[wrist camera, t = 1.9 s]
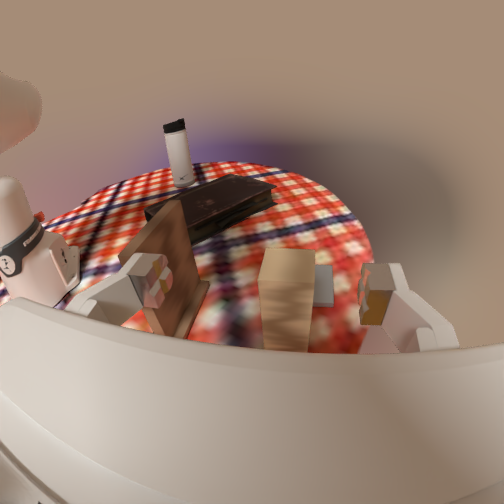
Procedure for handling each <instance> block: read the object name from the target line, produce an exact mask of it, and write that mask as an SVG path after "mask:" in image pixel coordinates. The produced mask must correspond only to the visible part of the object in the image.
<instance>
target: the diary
mask: <svg viewBox="0 0 504 504" xmlns="http://www.w3.org/2000/svg"><path fill="white" fill-rule="evenodd" d="M275 187H277V186H276V185H273V184H269V183H266V182H263V181H260V180H256V179H252V178H248V177H243V176H238V175H233V174H228V175H225V176H223V177H220V178H218V179H216V180H213V181H211V182H208V183H205V184H202V185H200V186H197V187H194V188H191V189H188V190H186V191H184V192H182V193H179V194H177V195H175V196H173V197H171V198H169V199H166V200H163V201H161V202H158V203H156V204H153V205H151V206H148V207H146V208H144V213H145V217H146V220H147V223H148V222H149V221H150V220H151V219H152V218H153V217H154V216H155V215H156V214H157V212H158V211H159V210H160V209H161V208H162V207H163V206H164V205H165V204H166V203H167V202H168V201H169V200H181V205H182V209H183V214H184V218H185V222H186V226H187V231H188V235H189V239H190V243H191V247H192V246H194V245H196V244H198V243H200V242H202V241H204V240H206V239H208V238H210V237H212V236H214V235H216V234H218V233H219V232H221V231H223V230H225V229H227V228H229V227H231V226H233V225H235V224H237V223H239V222H242V221H244V220H246V219H248V218H246V217H249V216H251V215H253V214H255V213H258V212H260V211H263V210H266V209H268V208H270V207H272V206H274V205H277V204H278V203H275V202H273V201H272V197H271V189H273V188H275ZM244 218H246V219H244ZM242 219H243V220H242Z"/></svg>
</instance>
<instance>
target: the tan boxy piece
mask: <svg viewBox="0 0 504 504" xmlns="http://www.w3.org/2000/svg"><path fill="white" fill-rule="evenodd" d="M314 283H315V250H310V249H286V248H266V250H265V254H264V258H263V261H262V265H261V269H260V273H259V276H258V290H259V300H260V310H261V320H262V330H263V341H264V350H276V351H289V352H304V353H307V352H308V344H309V336H310V326H311V317H312V307H313V295H314Z"/></svg>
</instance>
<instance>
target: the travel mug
mask: <svg viewBox="0 0 504 504" xmlns="http://www.w3.org/2000/svg"><path fill="white" fill-rule="evenodd" d="M163 129H164V135H165V140H166V146H167V151H168V156H169V161H170V166H171V171H172V176H173V181H174V186H175V187H178V188H182V187H187V186H190V185H192V184H193V183H194V182H195V180H194V175H193V169H192V163H191V158H190V152H189V146H188V140H187V134H186V129H185V122H184V119H179V120H177V121H175V122H172V123H169V124H166V125H163Z"/></svg>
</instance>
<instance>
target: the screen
mask: <svg viewBox="0 0 504 504" xmlns="http://www.w3.org/2000/svg"><path fill="white" fill-rule="evenodd" d="M134 253H151V254H163V255H165V256H166V257H167V260H168V264H167V267H168V268H169V269H170V270H171V272H172V276H173V282H172V287H171V288H170V290H169V291H168V292H167V293H165V294H164V296H165V299H164V301H163V302H162V304H161V306H160V308H150V307H143V308H142V311H143V313H144V315H145V317H146V319H147V321H148V323H149V325H150V326H151V328H152V330H153V333H154V334H159V335H165V336H170V337H175V338H181V339H186V338H187V336H188V333H189V331H190V329H191V326H192V324H193V322H194V320H195V317H196V315H197V313H198V310H199V308H200V306H201V304H202V302H203V299H204V297H205V295H206V293H207V290H208V288H209V286H210V284H209V281H201V280H200V278H199V274H198V270H197V266H196V263H195V259H194V255H193V251H192V247H191V243H190V239H189V235H188V231H187V226H186V222H185V218H184V214H183V209H182V205H181V200H169V201H168V202H167V203H166V204H165V205H164V206H163V207H162V208H161V209H160V210H159V211H158V212H157V214H156V215H155V216H154V217H153V218H152V219H151V220H150V221H149V222H148V223H147V224H146V225H145V226H144V227H143V228H142V229H141V230H140V232H139V233H138V234H137V235H136V236H135V237H134V238H133V239H132V240H131V241H130V243H129V244H128V245H127V246H126V247H125V248H124V249H123V250H122V252H121V253H120V254H119V255H118V258H119V261H120V263H121V265H122V267H123V266H124V265H125V264H126V262H127V261H128V260H129V259H130V258H131V256H132V255H133V254H134Z"/></svg>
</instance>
